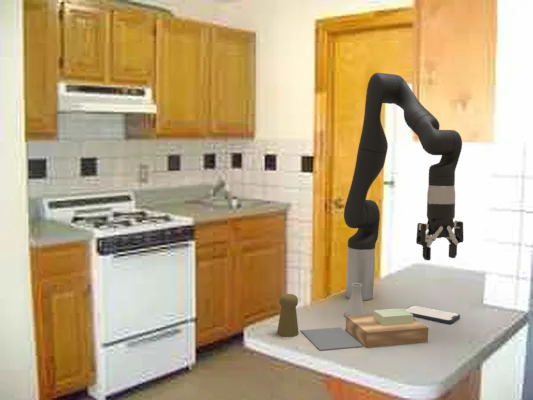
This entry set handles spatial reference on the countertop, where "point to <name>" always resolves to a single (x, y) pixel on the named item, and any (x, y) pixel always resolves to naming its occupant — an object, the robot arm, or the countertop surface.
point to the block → (393, 317)
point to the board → (385, 331)
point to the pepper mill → (288, 316)
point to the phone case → (433, 314)
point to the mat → (331, 339)
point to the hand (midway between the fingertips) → (439, 258)
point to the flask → (355, 302)
